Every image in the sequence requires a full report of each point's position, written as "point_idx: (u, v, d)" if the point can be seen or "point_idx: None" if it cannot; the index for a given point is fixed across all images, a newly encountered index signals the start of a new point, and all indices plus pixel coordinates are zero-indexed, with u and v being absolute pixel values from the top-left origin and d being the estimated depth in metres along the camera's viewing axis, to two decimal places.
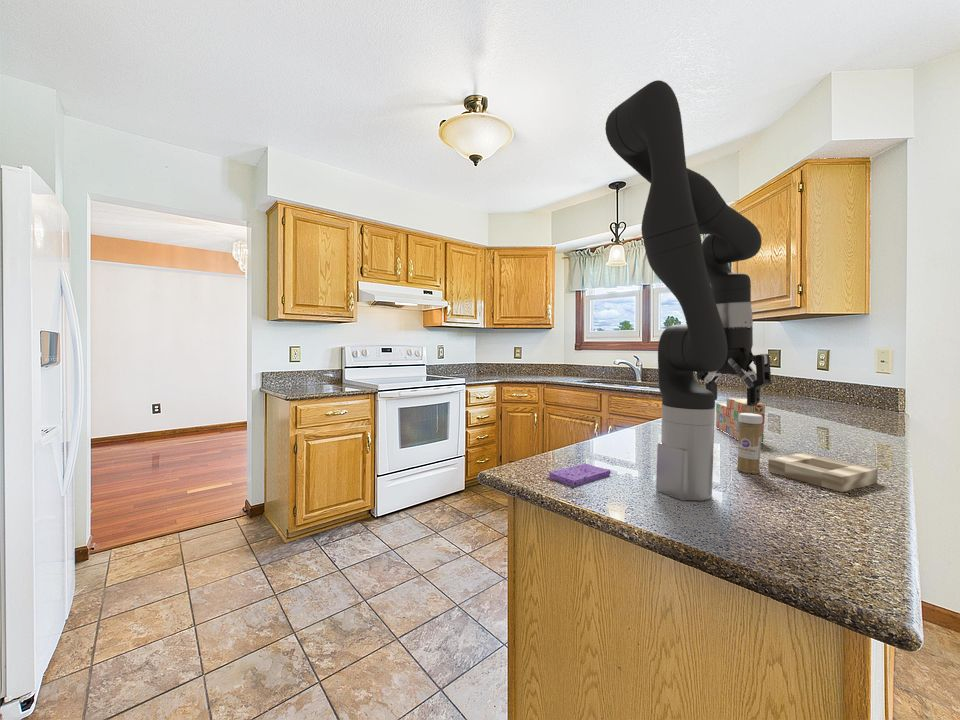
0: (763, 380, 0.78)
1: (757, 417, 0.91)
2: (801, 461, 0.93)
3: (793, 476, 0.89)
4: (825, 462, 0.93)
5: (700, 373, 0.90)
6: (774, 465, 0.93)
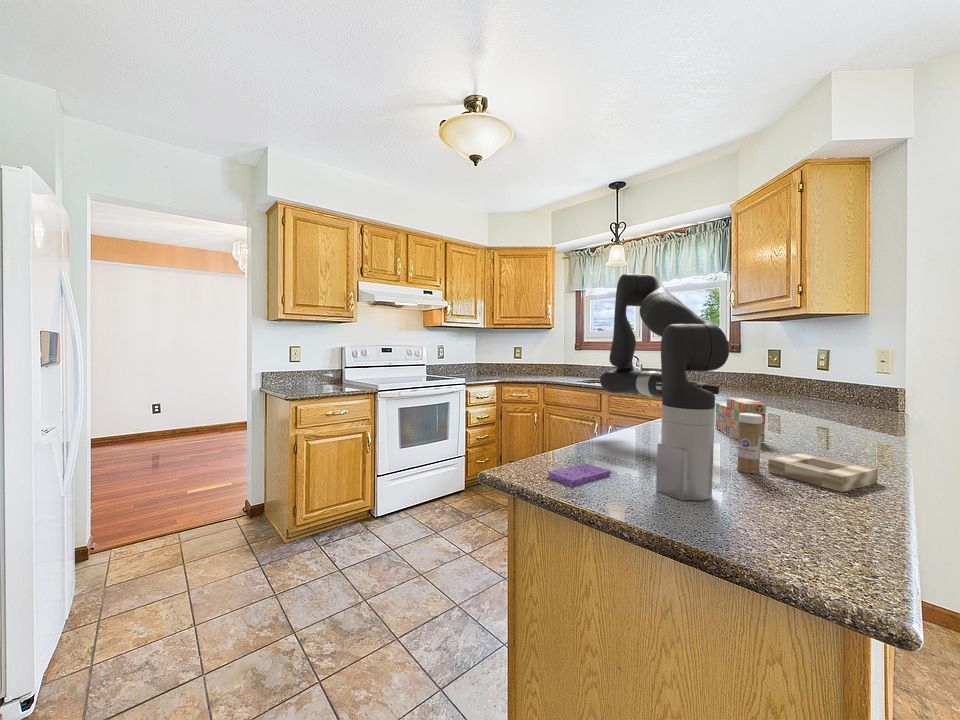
0: None
1: (757, 417, 0.91)
2: (801, 461, 0.93)
3: (793, 476, 0.89)
4: (825, 462, 0.93)
5: None
6: (774, 465, 0.93)
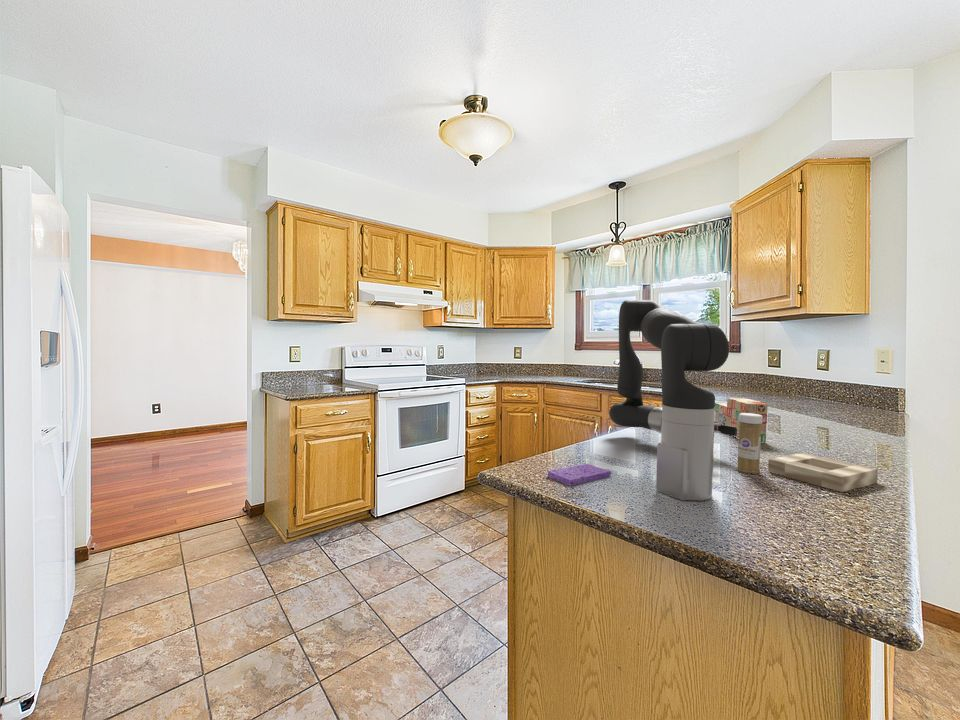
0: None
1: (757, 417, 0.91)
2: (801, 461, 0.93)
3: (793, 476, 0.89)
4: (825, 462, 0.93)
5: None
6: (774, 465, 0.93)
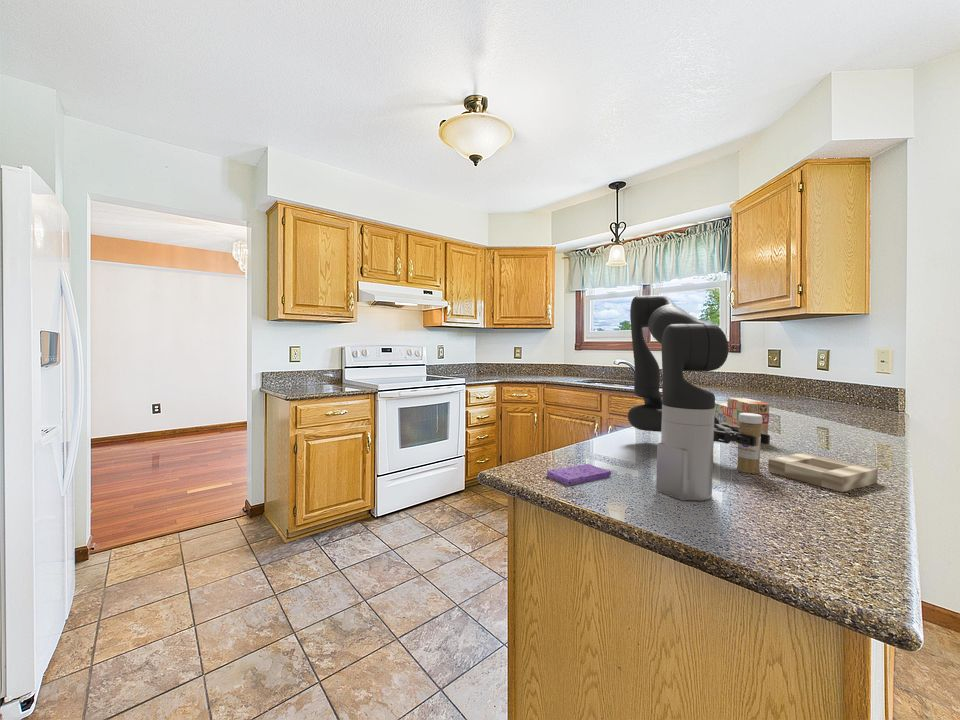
0: None
1: (757, 417, 0.91)
2: (801, 461, 0.93)
3: (793, 476, 0.89)
4: (825, 462, 0.93)
5: (723, 431, 0.95)
6: (774, 465, 0.93)
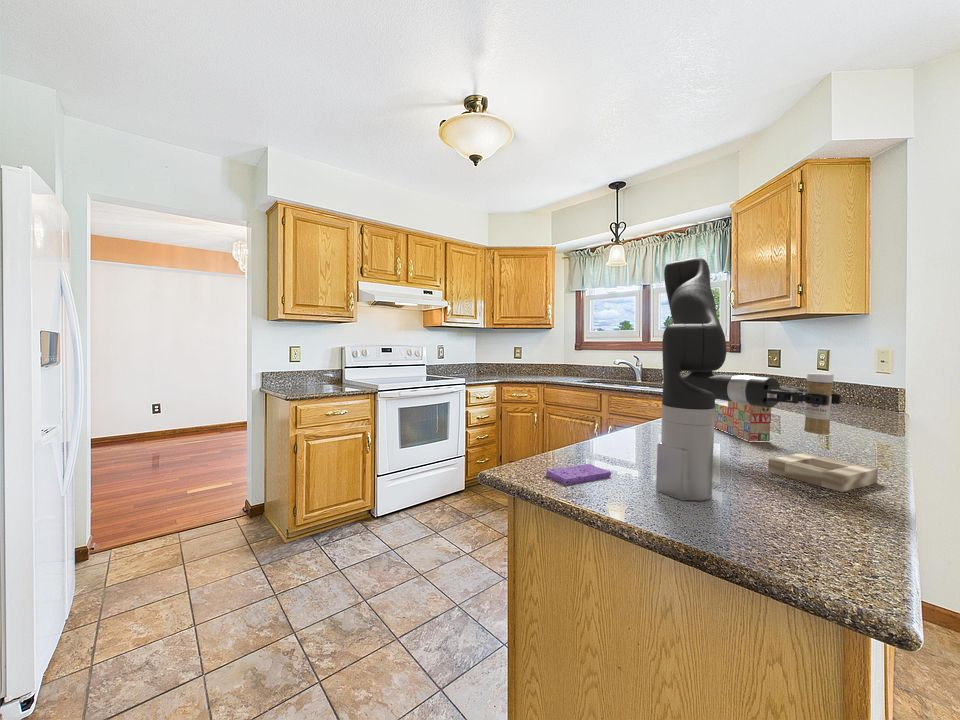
0: None
1: (829, 375, 0.88)
2: (801, 461, 0.93)
3: (793, 476, 0.89)
4: (825, 462, 0.93)
5: (791, 391, 0.91)
6: (774, 465, 0.93)
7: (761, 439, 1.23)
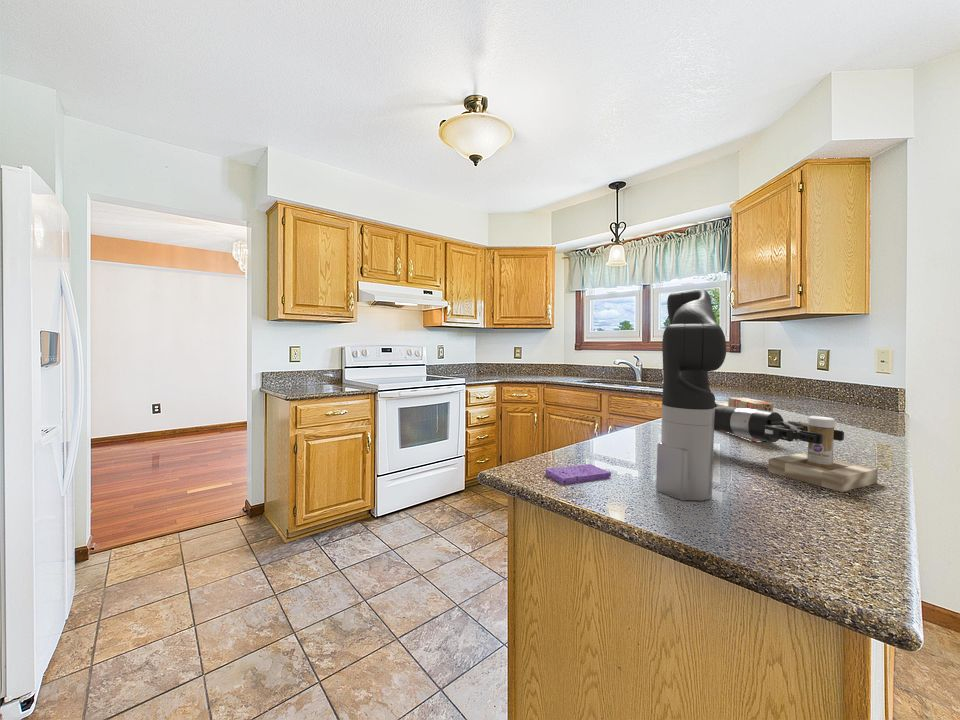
0: None
1: (830, 421, 0.88)
2: (801, 461, 0.93)
3: (793, 476, 0.89)
4: None
5: (786, 429, 0.91)
6: (774, 465, 0.93)
7: None
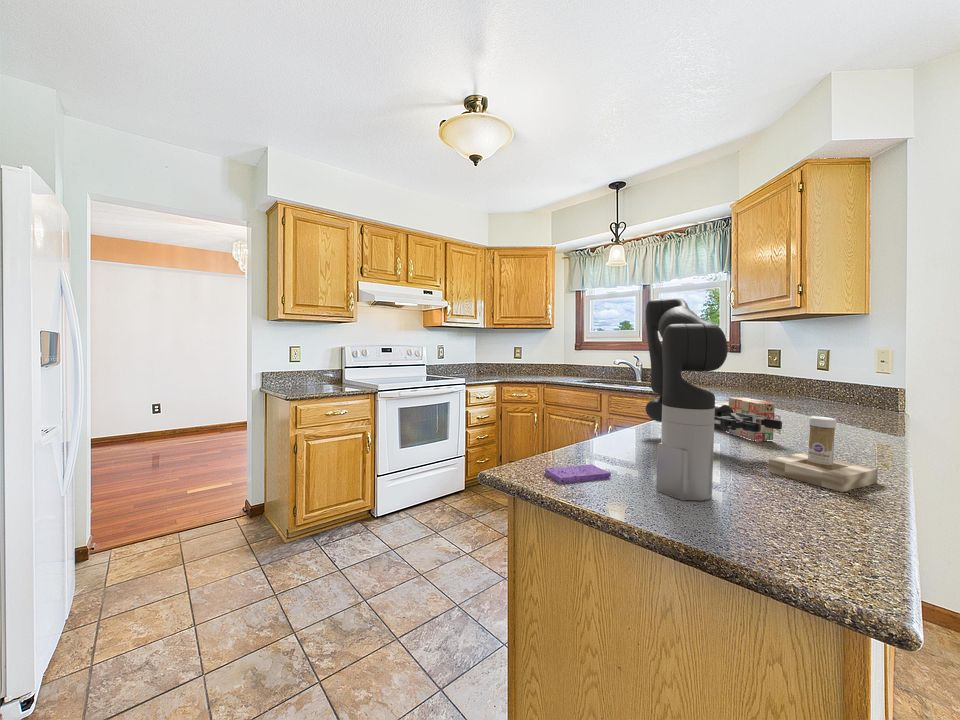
0: None
1: (831, 421, 0.88)
2: (801, 461, 0.93)
3: (793, 476, 0.89)
4: None
5: (731, 419, 1.03)
6: (774, 465, 0.93)
7: (765, 438, 1.24)
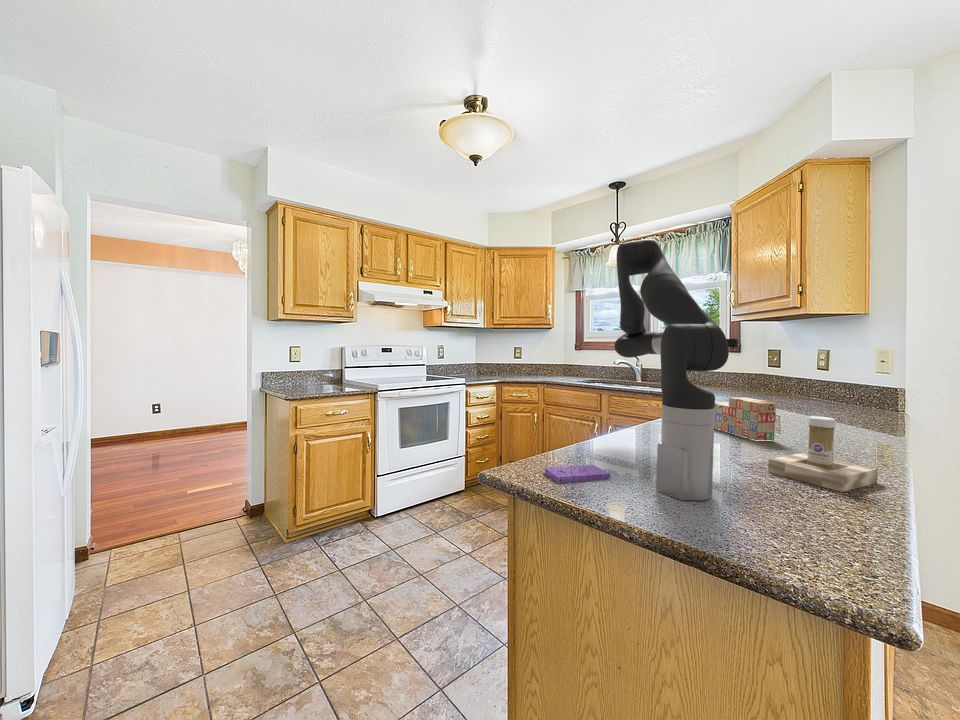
0: None
1: (831, 421, 0.88)
2: (801, 461, 0.93)
3: (793, 476, 0.89)
4: None
5: None
6: (774, 465, 0.93)
7: (767, 438, 1.25)
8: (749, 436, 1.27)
